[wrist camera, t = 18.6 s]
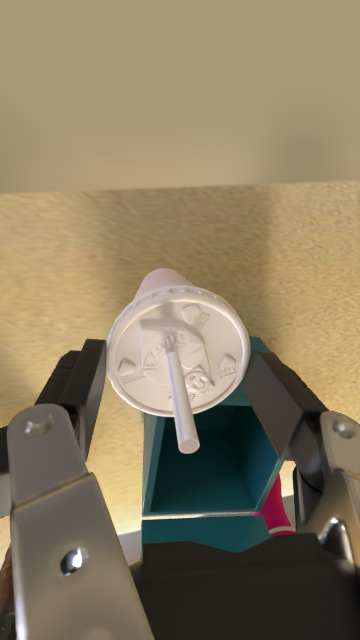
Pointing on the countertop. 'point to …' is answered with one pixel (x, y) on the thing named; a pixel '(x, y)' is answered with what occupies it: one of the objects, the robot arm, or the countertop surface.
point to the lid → (208, 531)
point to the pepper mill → (275, 512)
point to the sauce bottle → (7, 600)
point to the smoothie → (176, 351)
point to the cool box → (210, 460)
